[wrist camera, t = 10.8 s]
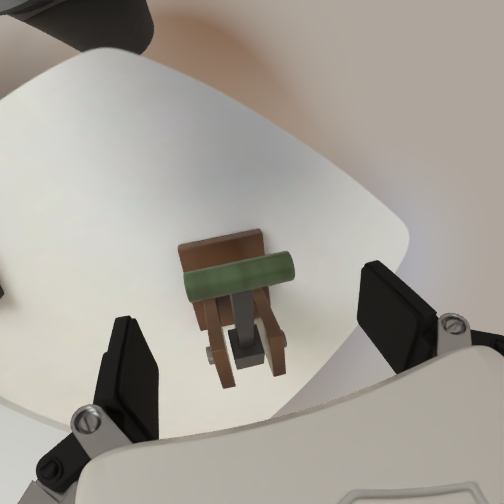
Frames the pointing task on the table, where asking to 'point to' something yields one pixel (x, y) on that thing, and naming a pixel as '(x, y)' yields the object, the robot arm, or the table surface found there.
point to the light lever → (241, 297)
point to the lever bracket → (220, 310)
